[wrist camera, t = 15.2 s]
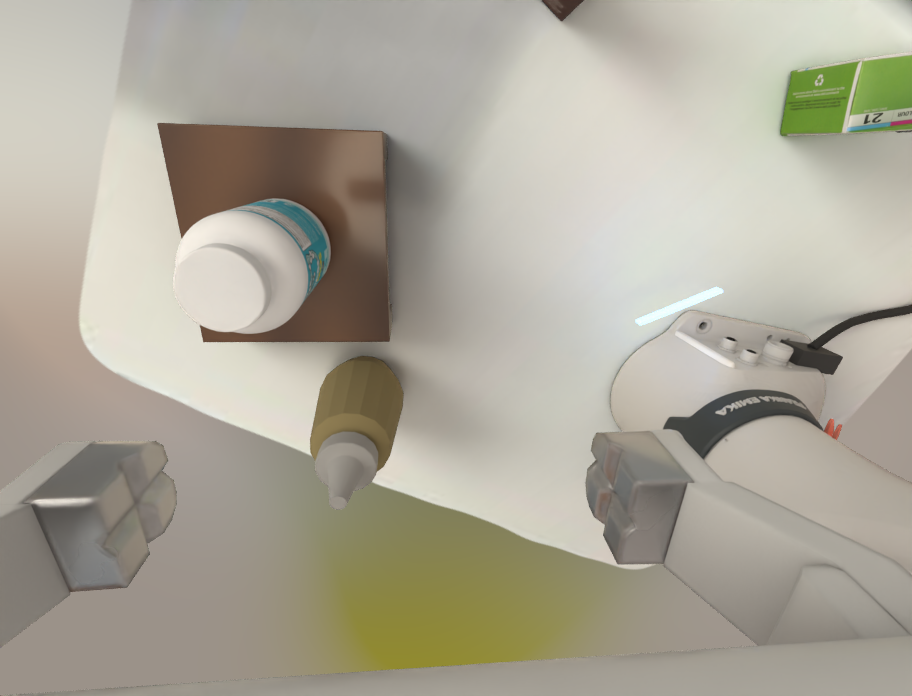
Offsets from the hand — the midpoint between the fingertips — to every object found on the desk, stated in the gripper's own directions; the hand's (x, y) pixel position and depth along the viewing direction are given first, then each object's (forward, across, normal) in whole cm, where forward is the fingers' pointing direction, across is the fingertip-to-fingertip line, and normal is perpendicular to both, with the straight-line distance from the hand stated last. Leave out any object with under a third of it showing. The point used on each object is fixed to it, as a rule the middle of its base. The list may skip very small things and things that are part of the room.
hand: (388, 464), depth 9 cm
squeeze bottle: (+35, -5, -16) cm, 39 cm away
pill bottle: (+30, -10, -2) cm, 32 cm away
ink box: (+35, +38, +11) cm, 53 cm away
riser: (+35, -10, -2) cm, 37 cm away
